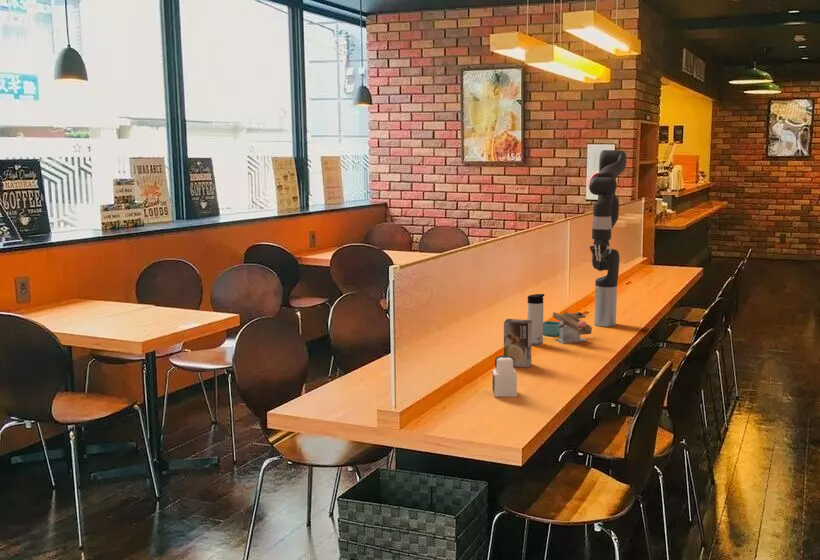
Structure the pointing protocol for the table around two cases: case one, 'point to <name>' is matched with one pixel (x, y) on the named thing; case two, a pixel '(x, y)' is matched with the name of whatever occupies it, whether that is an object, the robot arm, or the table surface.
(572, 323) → the lever
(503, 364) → the medicine bottle
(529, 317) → the travel mug
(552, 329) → the teal square bin
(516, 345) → the coffee box
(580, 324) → the ball
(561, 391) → the table surface
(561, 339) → the fulcrum
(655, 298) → the table surface
